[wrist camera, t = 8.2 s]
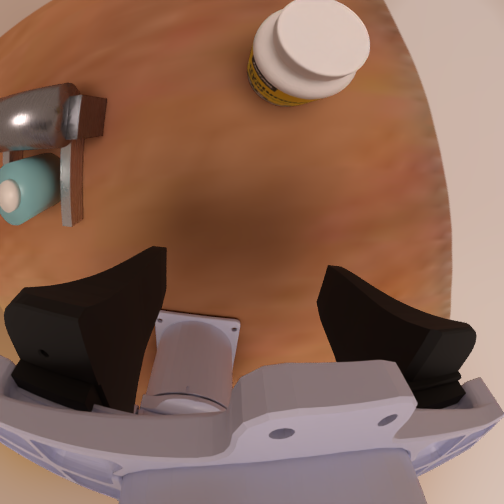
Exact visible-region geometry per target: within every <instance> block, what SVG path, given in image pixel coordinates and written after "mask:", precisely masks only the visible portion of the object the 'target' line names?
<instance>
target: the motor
mask: <svg viewBox="0 0 504 504" xmlns="http://www.w3.org/2000/svg"><path fill="white" fill-rule="evenodd" d="M106 103H107V99H105V98H99V97H93V96H86V95H80V93H79V91H78V89H77V88H76V86H75V85H73V84H71V83H64V84H58V85H52V86H47V87H42V88H37V89H33V90H29V91H25V92H21V93H17V94H13V95H9V96H6V97H3V98H0V152H3V166H4V165H5V164H7V163H10V162H14V161H17V160H21V159H23V150H31V149H47V148H61V161H60V187H61V211H62V224H63V226H69V227H73V226H74V225H75V224H77V223H78V222H79V221H81V220H82V219H83V201H82V168H83V146H84V138H90V137H98V136H103V128H104V119H105V110H106Z"/></svg>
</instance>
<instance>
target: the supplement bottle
mask: <svg viewBox="0 0 504 504" xmlns="http://www.w3.org/2000/svg"><path fill="white" fill-rule="evenodd" d="M369 51H370V40H369V35H368V32H367V30H366V27H365V26H364V24H363V22H362V21H361V20H360V18H359V17H358V16H357V15H356V14H355V13H354V12H353V11H352V10H350V9H349V8H348V7H346V6H345V5H343V4H341V3H339V2H337V1H335V0H295V1H293V2H291V3H290V4H288V5H287V6H286V7H285V8H284V9H282V10H279V11H277V12H275V13H273V14H272V15H270V16H269V17H268V18H267V19H266V20H265V21H264V22H263V23H262V24H261V26H260V27H259V29H258V31H257V33H256V35H255V37H254V41H253V45H252V49H251V53H250V57H249V61H248V65H247V74H248V79H249V82H250V84H251V86H252V88H253V89H254V91H255V92H256V93H257V94H258V95H259V96H260V97H261V98H262V99H264V100H265V101H267V102H269V103H271V104H274V105H278V106H285V107H290V106H297V105H301V104H305V103H308V102H312V101H315V100H319V99H323V98H326V97H329V96H332V95H334V94H336V93H338V92H340V91H341V90H343V89H344V88H345V87H346V86H347V85H348V84H349V83H350V82H351V81H352V79H353V77H354V76H355V73H356V71H357V70H358V69H359V68H360V67H361V66H362V65H363V64H364V63H365V61H366V60H367V57H368V55H369Z"/></svg>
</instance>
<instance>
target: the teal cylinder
mask: <svg viewBox="0 0 504 504" xmlns="http://www.w3.org/2000/svg"><path fill="white" fill-rule="evenodd" d="M60 161H61V160H60V159H59V158H58V157H57V156H56V155H54V154H52V153H44V154H39V155H36V156H32V157H28V158H24V159H21V160H17V161H14V162H10V163H7V164H5V165H4V166H2V168H1V169H0V214H1V215H2V217H3V218H4V219H5V220H6V221H7V222H8V223H10V224H12V225H20V224H22V223H24V222H25V221H27V220H29V219H30V218H32V217H34V216H35V215H37V214H39V213H41V212H42V211H44V210H46V209H48V208H49V207H51V206H53V205H55V204H57V203H58V202H59V201H60V200H61V187H60Z"/></svg>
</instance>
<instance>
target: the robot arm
mask: <svg viewBox="0 0 504 504" xmlns="http://www.w3.org/2000/svg"><path fill="white" fill-rule="evenodd" d="M166 256H167V248H165V247H156V246H152V247H150V248H148V249H146V250H144V251H142V252H141V253H139V254H137V255H135V256H134V257H132V258H130V259H128V260H126V261H124V262H122V263H120V264H119V265H117V266H115V267H113V268H110V269H108V270H106V271H104V272H101V273H98V274H96V275H93V276H90V277H87V278H83V279H80V280H76V281H72V282H68V283H63V284H57V285H51V286H41V287H25V288H23V289H22V290H21V292H20V293H19V294H18V295H17V296H16V297H15V298H14V299H13V300H12V301H11V303H10V304H9V305H8V306H7V307H6V308H5V312H4V320H5V326H6V329H7V331H8V334H9V336H10V339H11V341H12V343H13V345H14V347H15V349H16V351H17V353H18V355H19V357H20V361H19V362H18V364H17V365H15V364H14V363H13V362H12V361H11V360H9V359H8V358H5V357H3V356H1V355H0V442H1V443H2V444H4V445H5V446H7V447H8V448H10V449H12V450H13V451H15V452H17V453H18V454H20V455H22V456H23V457H25V458H27V459H29V460H30V461H32V462H34V463H36V464H38V465H39V466H41V467H43V468H45V469H47V470H49V471H51V472H53V473H55V474H57V475H59V476H61V477H63V478H65V479H67V480H70V481H71V482H74V483H76V484H78V485H80V486H83V487H85V488H88V489H90V490H93V491H96V492H98V493H101V494H104V495H107V496H110V497H112V498H115V499H117V500H118V501H119V504H427V502H426V499H425V496H424V494H423V491H422V488H421V485H420V483H419V480H418V478H417V477H418V476H420V475H422V474H424V473H426V472H428V471H430V470H432V469H434V468H436V467H438V466H440V465H442V464H443V463H445V462H447V461H449V460H450V459H452V458H454V457H456V456H458V455H460V454H461V453H463V452H465V451H466V450H468V449H470V448H471V447H472V446H473V445H474V444H475V443H477V441H479V440H480V439H481V438H482V437H483V436H484V435H485V434H486V433H488V432H489V431H490V430H491V429H492V428H493V427H494V426H495V425H496V424H497V423H498V422H499V421H500V420H501V419H502V418H503V417H504V412H503V411H502V409H501V407H500V406H499V404H498V403H497V401H496V400H495V398H494V397H493V395H492V394H491V392H490V391H489V389H488V388H487V386H486V385H485V383H484V382H483V380H482V379H481V378H480V377H479V378H476V379H473V380H470V381H467V382H466V383H464V384H463V385H462V386H461V385H460V383H459V382H458V380H459V379H461V375H460V373H459V372H458V370H459V369H460V367H461V366H462V365H463V363H464V362H465V360H466V359H467V357H468V356H469V354H470V353H471V351H472V349H473V347H474V345H475V342H476V332H475V331H474V329H473V328H472V327H471V326H470V325H469V324H467V323H463V322H458V321H454V320H449V319H444V318H441V317H438V316H434V315H431V314H428V313H425V312H423V311H420V310H418V309H415V308H413V307H410V306H408V305H406V304H404V303H402V302H400V301H398V300H396V299H394V298H392V297H390V296H388V295H387V294H385V293H383V292H382V291H380V290H378V289H377V288H375V287H374V286H372V285H370V284H369V283H367V282H366V281H364V280H363V279H361V278H360V277H358V276H356V275H355V274H353V273H352V272H350V271H348V270H347V269H345V268H343V267H340V266H331V265H328V267H327V270H326V274H325V277H324V280H323V284H322V287H321V290H320V293H319V296H318V299H317V306H318V311H319V316H320V320H321V322H322V325H323V328H324V330H325V333H326V335H327V338H328V340H329V343H330V345H331V348H332V351H333V353H334V356H335V359H336V362H331V363H281V364H274V365H267V366H262V367H260V368H258V369H256V370H254V371H252V372H250V373H248V374H246V375H244V376H242V377H241V378H240V379H239V381H238V382H237V384H236V385H235V387H234V388H233V389H232V369H233V364H234V358H235V353H236V347H237V342H238V336H239V331H240V321H239V320H237V319H229V318H219V317H210V316H201V315H193V314H185V313H178V312H170V311H163V310H161V307H162V304H163V300H164V296H165V292H166ZM159 319H162V320H159ZM154 325H155V328H156V342H157V353H156V357H155V361H154V364H153V368H152V372H151V376H150V380H149V384H148V388H147V392H146V395H145V394H144V395H143V397H142V401H141V405H140V409H139V406H138V405H135V399H136V392H137V386H138V381H139V376H140V371H141V366H142V362H143V357H144V353H145V349H146V346H147V343H148V340H149V338H150V335H151V333H152V330H153V328H154ZM232 328H236V329H232Z"/></svg>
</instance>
